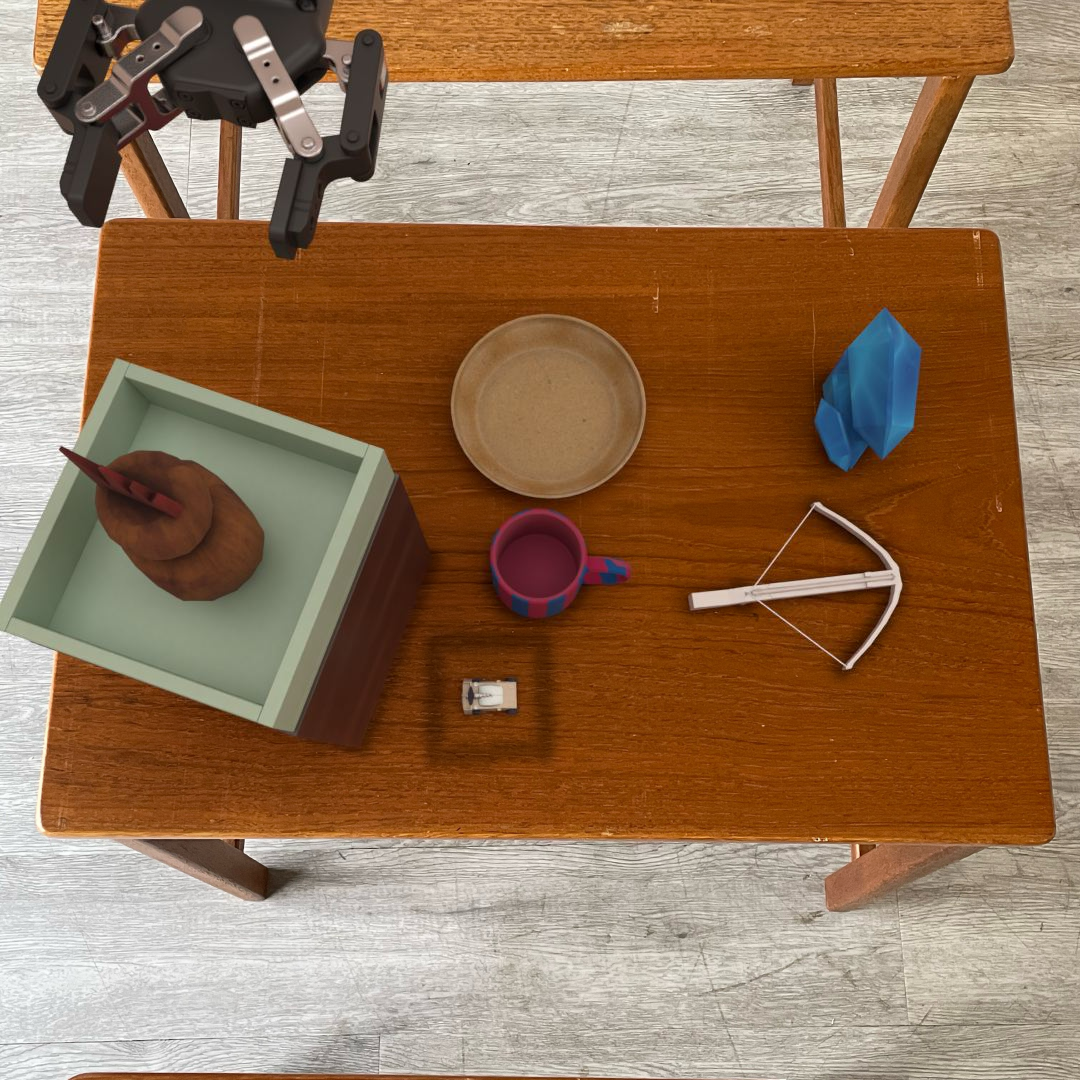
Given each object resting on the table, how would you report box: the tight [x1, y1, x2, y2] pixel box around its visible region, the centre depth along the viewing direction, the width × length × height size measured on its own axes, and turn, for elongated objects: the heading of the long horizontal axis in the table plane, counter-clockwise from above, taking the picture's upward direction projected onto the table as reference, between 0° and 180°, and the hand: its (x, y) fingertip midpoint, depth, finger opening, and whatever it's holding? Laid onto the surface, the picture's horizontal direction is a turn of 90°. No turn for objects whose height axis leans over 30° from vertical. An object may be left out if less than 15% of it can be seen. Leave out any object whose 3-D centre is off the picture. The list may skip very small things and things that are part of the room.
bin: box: [0, 358, 394, 732], centre depth 53 cm, size 15×15×5 cm
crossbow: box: [687, 501, 904, 671], centre depth 77 cm, size 16×13×2 cm
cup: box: [489, 508, 632, 619], centre depth 75 cm, size 7×10×7 cm
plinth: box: [29, 471, 433, 749], centre depth 66 cm, size 15×15×22 cm
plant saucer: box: [450, 313, 647, 499], centre depth 80 cm, size 15×15×3 cm
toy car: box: [460, 676, 519, 716], centre depth 75 cm, size 3×4×2 cm, turn 92°
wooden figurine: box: [58, 445, 265, 601], centre depth 47 cm, size 7×6×15 cm
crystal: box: [813, 306, 922, 473], centre depth 78 cm, size 7×9×12 cm
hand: (182, 234), depth 44 cm, fingers open, 8 cm apart
